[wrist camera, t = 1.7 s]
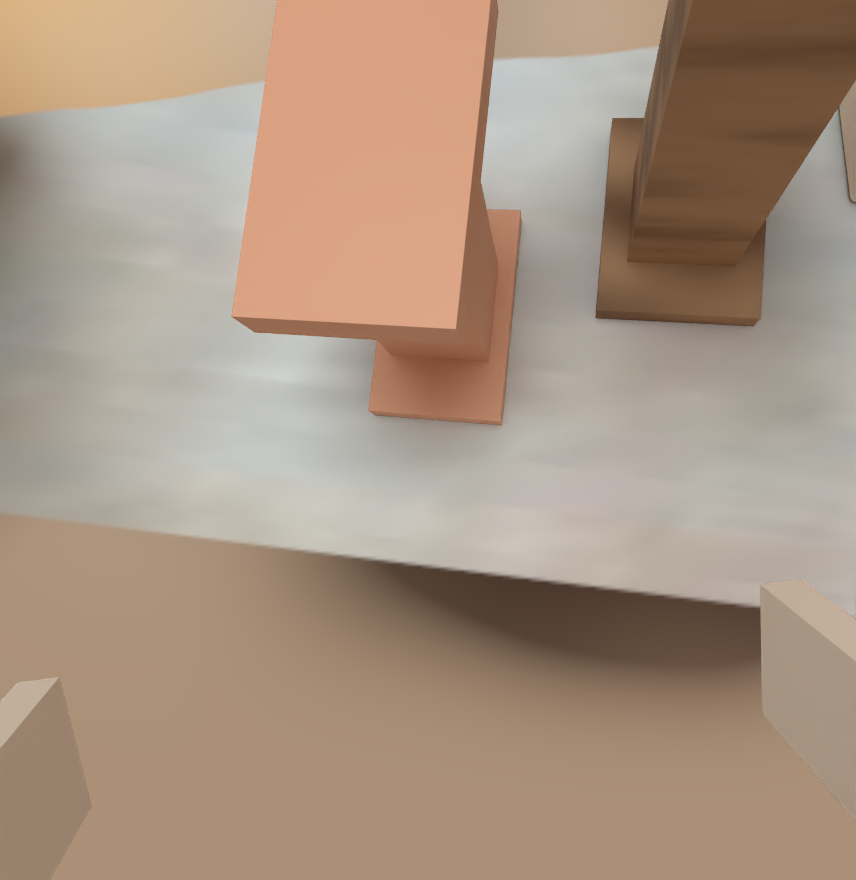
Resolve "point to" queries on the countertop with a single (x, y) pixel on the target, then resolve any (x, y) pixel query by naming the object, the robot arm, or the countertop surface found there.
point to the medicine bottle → (850, 136)
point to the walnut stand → (717, 154)
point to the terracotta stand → (384, 200)
